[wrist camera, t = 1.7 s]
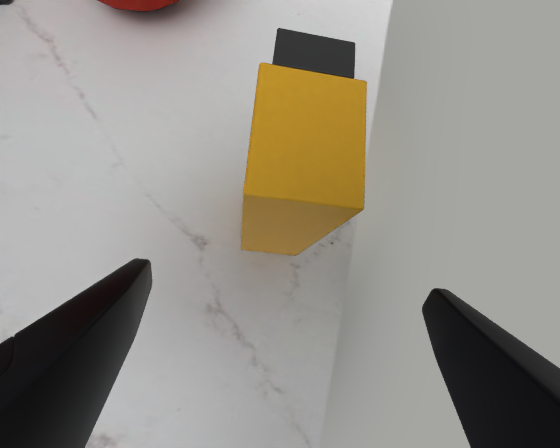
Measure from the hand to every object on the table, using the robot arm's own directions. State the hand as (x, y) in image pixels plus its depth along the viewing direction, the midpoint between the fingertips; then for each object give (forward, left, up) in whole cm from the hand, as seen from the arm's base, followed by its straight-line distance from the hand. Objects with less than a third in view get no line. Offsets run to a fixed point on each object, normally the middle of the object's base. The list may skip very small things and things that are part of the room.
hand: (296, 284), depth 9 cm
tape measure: (+5, 0, -11) cm, 13 cm away
